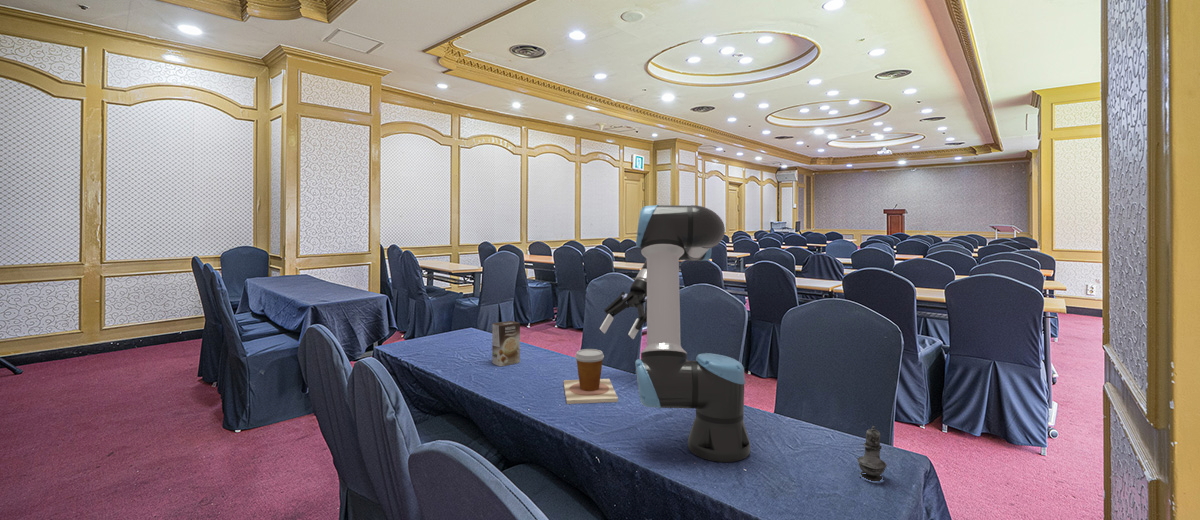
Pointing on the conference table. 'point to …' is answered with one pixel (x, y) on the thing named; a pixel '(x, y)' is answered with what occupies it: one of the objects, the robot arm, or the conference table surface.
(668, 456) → the conference table surface
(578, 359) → the disposable coffee cup
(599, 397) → the birch board
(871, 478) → the dark grey chess piece
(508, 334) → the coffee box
